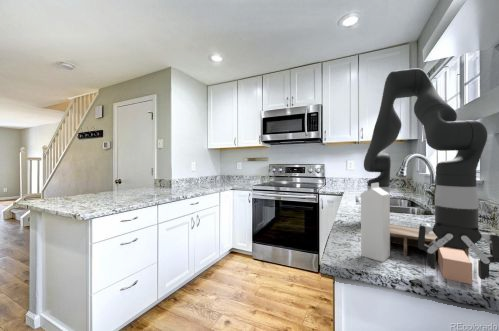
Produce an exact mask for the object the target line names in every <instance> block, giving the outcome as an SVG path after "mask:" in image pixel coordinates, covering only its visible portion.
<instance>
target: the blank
mask: <svg viewBox="0 0 499 331" xmlns="http://www.w3.org/2000/svg"><path fill="white" fill-rule="evenodd" d="M437 263H438V266H439V269H440V272H441V276H442V278H443V279H447V280H451V281H454V282H460V283H464V284H469V285H473V263H472V261H471V259H470V257H469V258H468V257H467V255H466V254H465V252H464V251H463V250H461V249H455V248H449V247H443V246H442V247H441V248H439V249H438V251H437Z"/></svg>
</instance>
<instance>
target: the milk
mask: <svg viewBox="0 0 499 331" xmlns="http://www.w3.org/2000/svg"><path fill="white" fill-rule="evenodd" d="M390 195H391V194H389V193H388V192H386V191H384V190H383V189H381V188H379V183H371V189H369V190H368V189H367V190H366V191H363V192H361V193H360V255H361V257H364V258H368V259H371V260H375V261H378V262H381V263H384V262H385V261H386V260H387V259H389V258H390V256H391V242H390V224H391V220H390V218H391V215H390V214H391V213H390V212H391V210H390V208H391V206H390V205H391V203H390V201H391V200H390V197H391V196H390Z"/></svg>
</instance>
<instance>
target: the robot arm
mask: <svg viewBox="0 0 499 331" xmlns="http://www.w3.org/2000/svg"><path fill="white" fill-rule="evenodd" d="M412 97H417V99H416V100H415V103H414V105H413V112H414V115H415V117H416V119H418V121H419V122H420V123H421V125H422V126H423V129H424V130H423V131H424V133H425V141H426V144H427V145H428V146H429V147H430V148H431V149H433V150H435V151H440V152H441V151H442V152H443V151H444V152H447V151H452V152H453V151H457V152H456V155H455V156H454V158H452V159H449V160H444V161H440V162H438V163H437V164H436V167H435V190H434V225H433V226H429V225H425V224H423V223H420V224H418V228H419V234H418V247H417V248H418V249H419V250H423V251H425V252H426V263H427V265H428V266H430V269H431V270H435V269H436V266H435V265H436V262H435V254H434V252H435V251H436V252H437V249H439V248H441V247H442V246H443V245H446V246H447V247H452V248H453V247H457V248H460V249H464V250H466V249H470V250H471V251H472V252H473V253H474V254H475V255H476V256H477V257H478V259H477V260H478V262H477V264H478V266H477V271H478V273H477V275H478V277H479V279H480V280H486V278H488V279H489V277H490V265H491V264H493V263H496V264H497V263H498V264H499V235H497V233H495V232H492V231H491V232H489V233H488V232H480V230H479V206H480V201H479V194H478V190H477V169H478V167H479V166H478V165H479V162H480V160H481V156H482V154H483V152H484V149H485V146H486V144H487V141H488V130H487V127H486V126H485V125H484V124H483V123H482V122H480V121H478V120H472V119H471V120H457V118H458V116H457V115H458V114H457V111H456V110H455V109H454V108H453V107H452V106H451V105H450V104H448V102H446V101H445V100H444V99H443V98H442V97H441V96H440V95H439V93H438V91H437V89H436V87H435V86H434V85H433V82H432V80H431V79H430V77H429V75H428V74H427V73H426V71H425V70H424V69H422V68H420V67H418V68H417V67H414V68H408V69H407V68H405V69H400V70H399V69H398V70H393V71H391V72H389V74H388V75H387V77H386V78H385V83H384V86H383V91H382V96H381V103H380V106H379V110H378V115H377V118H376V122H375V125H374V128H373V132H372V136H371V140H370V143H369V146H368V149H367V151H366V154H365V156H364V160H363V169H364V170H365V171H366V172H368V173H380V174H379V175H378V176H376V177H373V178H370V179H368V180H367V190H369V189H371V183H379V188H381V189H383V190H384V191H386V192H388V193H389V194H390V192H391V191H390V183H391V164H392V163H391V161H392V160H391V156H390V154H388V153H384V152H382V151H384V150H385V149H387V148H388V147H389V146H391V145H392V144H394V142H396V140H397V139H398V136H399V134H400V132H401V129H402V126H403V125H402V121H401V118H400V116H399V115H398V112H396V110H395V108H394V104H395V101H396V100H397V99H403V98H412ZM381 152H382V153H381ZM390 195H391V194H390ZM430 231H433V232H434V234H435V235H436V236H437V238H436V239H434V240H433V242H432V243H431V244H429V245H426V244H424V243H425V234H426V235H428V234H429V232H430ZM482 239H484V241H485V242H486V243H487V244H489V252H490V254H484V252H482V250H481V249H480V248H479V247H478V246H477V245H476V244H477V243H478V242H479V241H481V240H482Z"/></svg>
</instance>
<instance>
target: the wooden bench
mask: <svg viewBox="0 0 499 331" xmlns="http://www.w3.org/2000/svg"><path fill="white" fill-rule="evenodd" d="M418 234H419V227H412V226H404V225H397V224H391V223H390V244H398V245H403V256H405V257H408V247H415V248H418ZM436 238H437V236H436V235H435V234H434V232H433V231H430V232H429V234H428V235H426V234H425V243H424V244H426V245H429V244H431V243H432V242H433V240H434V239H436ZM443 247H447V246H446V245H443ZM449 248H452V247H449ZM453 248H455V249H460V248H457V247H453ZM469 249H470V248H469ZM469 249H466V250H464V249H461V250H463V251H464V252H465V254H466V255H467V257H468V258H469V259H470V255H469V252H470V250H469ZM437 252H438V249H437V250H436V251H435V252H434V254H435V263H436V262H437Z"/></svg>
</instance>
